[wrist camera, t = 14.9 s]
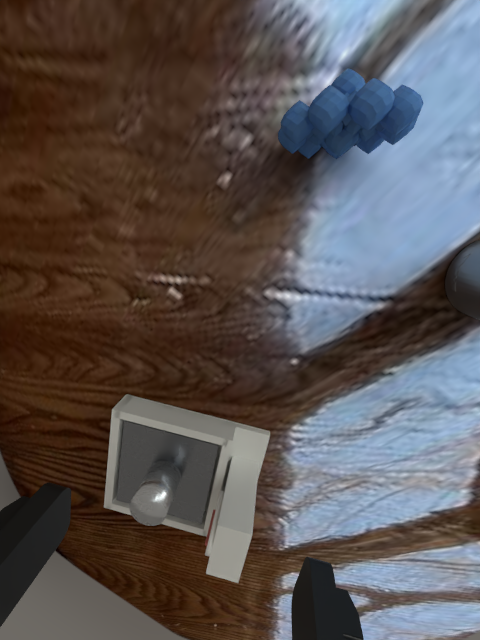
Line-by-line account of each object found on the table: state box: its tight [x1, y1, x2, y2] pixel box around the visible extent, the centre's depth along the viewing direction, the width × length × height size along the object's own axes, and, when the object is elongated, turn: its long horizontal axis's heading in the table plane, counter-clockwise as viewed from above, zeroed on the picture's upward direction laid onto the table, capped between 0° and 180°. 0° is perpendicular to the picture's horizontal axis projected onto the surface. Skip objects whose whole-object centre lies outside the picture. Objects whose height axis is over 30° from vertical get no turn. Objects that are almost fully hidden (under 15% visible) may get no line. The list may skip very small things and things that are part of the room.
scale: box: [104, 394, 270, 583], centre depth 41 cm, size 22×18×12 cm
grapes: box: [278, 68, 423, 159], centre depth 26 cm, size 12×7×12 cm, turn 89°
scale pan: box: [116, 420, 219, 524], centre depth 44 cm, size 14×15×1 cm
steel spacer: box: [129, 461, 181, 526], centre depth 40 cm, size 5×5×6 cm
